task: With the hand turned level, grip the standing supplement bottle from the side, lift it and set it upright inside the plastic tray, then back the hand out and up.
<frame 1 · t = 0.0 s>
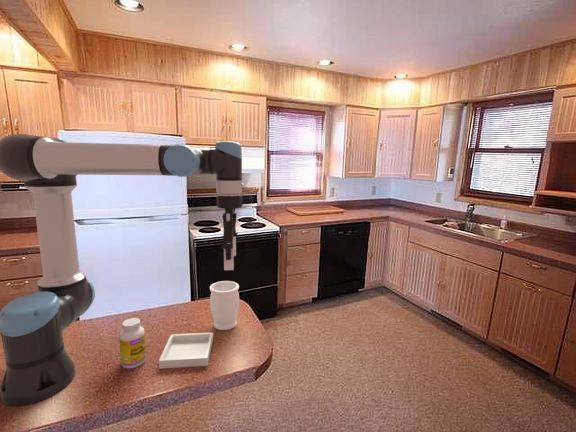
hand: (230, 262, 94), 28 cm above the table, tool pointing down, fingers open, 13 cm apart
supplement bottle: (134, 362, 89), on the table
tray: (188, 352, 94), on the table
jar: (225, 325, 111), on the table
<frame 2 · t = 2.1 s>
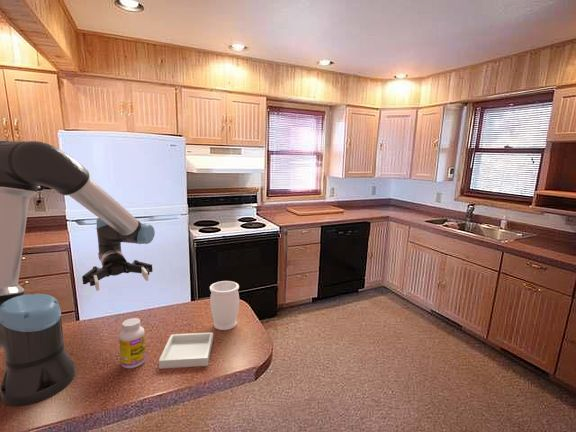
hand: (123, 281, 93), 22 cm above the table, tool horizontal, fingers open, 13 cm apart
nothing on the table moved.
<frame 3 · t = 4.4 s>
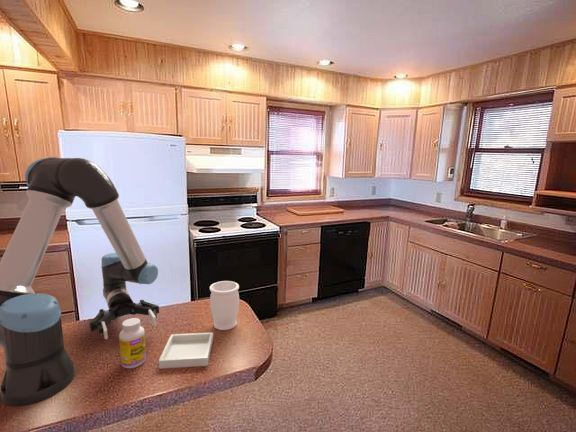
hand: (131, 327, 93), 8 cm above the table, tool horizontal, fingers open, 13 cm apart
nothing on the table moved.
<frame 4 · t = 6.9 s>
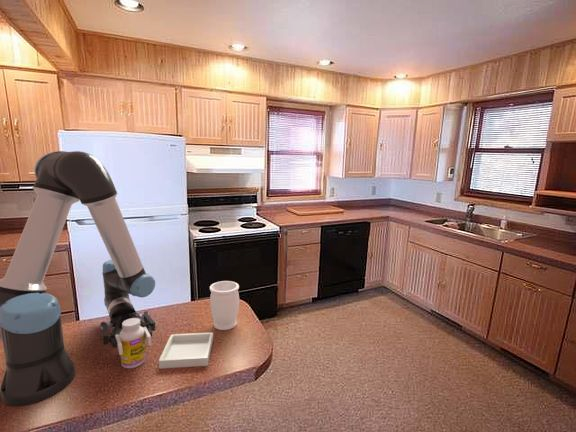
hand: (135, 345, 84), 8 cm above the table, tool horizontal, fingers closed on supplement bottle, 7 cm apart
supplement bottle: (134, 362, 89), on the table, touching gripper
everything else where it was.
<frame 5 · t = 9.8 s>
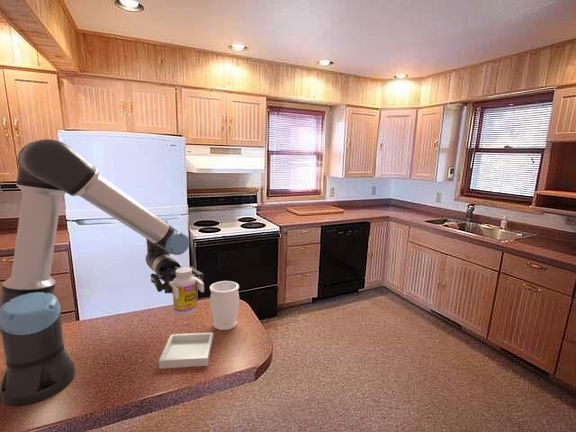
hand: (190, 290, 86), 22 cm above the table, tool horizontal, fingers closed on supplement bottle, 7 cm apart
supplement bottle: (185, 310, 92), point 14 cm above the table, touching gripper
everything else where it was.
when the fingers open (10 cm above the table, at t = 13.1 s): supplement bottle drops 1 cm, resting on tray.
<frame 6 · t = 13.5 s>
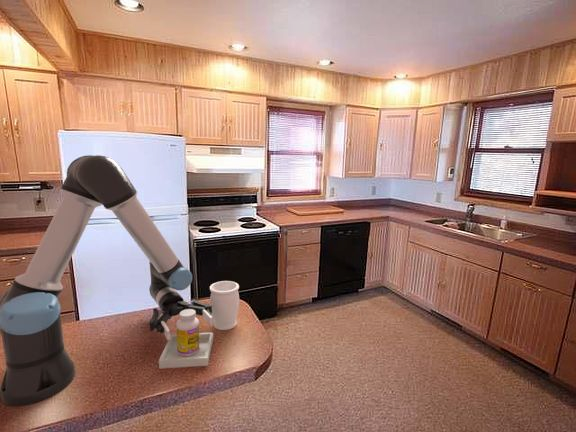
hand: (191, 328, 89), 10 cm above the table, tool horizontal, fingers open, 12 cm apart
supplement bottle: (188, 351, 94), resting on tray
everything else where it was.
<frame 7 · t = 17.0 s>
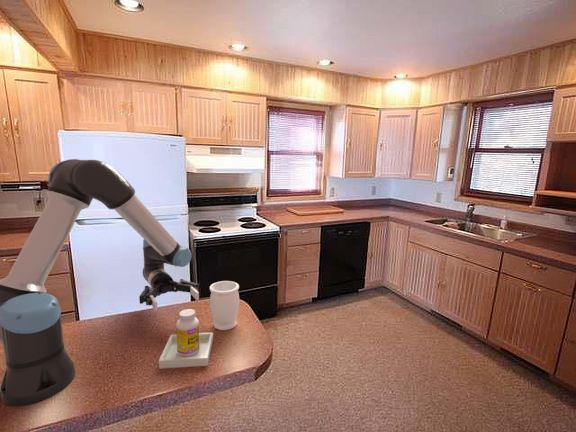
hand: (177, 301, 100), 13 cm above the table, tool horizontal, fingers open, 13 cm apart
nothing on the table moved.
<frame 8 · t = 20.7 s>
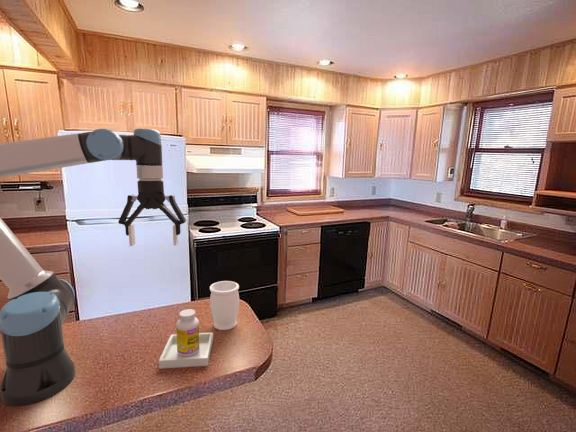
hand: (154, 244, 99), 32 cm above the table, tool pointing down, fingers open, 13 cm apart
nothing on the table moved.
at the end: supplement bottle inside the target area on the tray (0.1 cm from its centre), point 0.3 cm above the tray's base; supplement bottle tilted 0°; the gripper is holding nothing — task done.
